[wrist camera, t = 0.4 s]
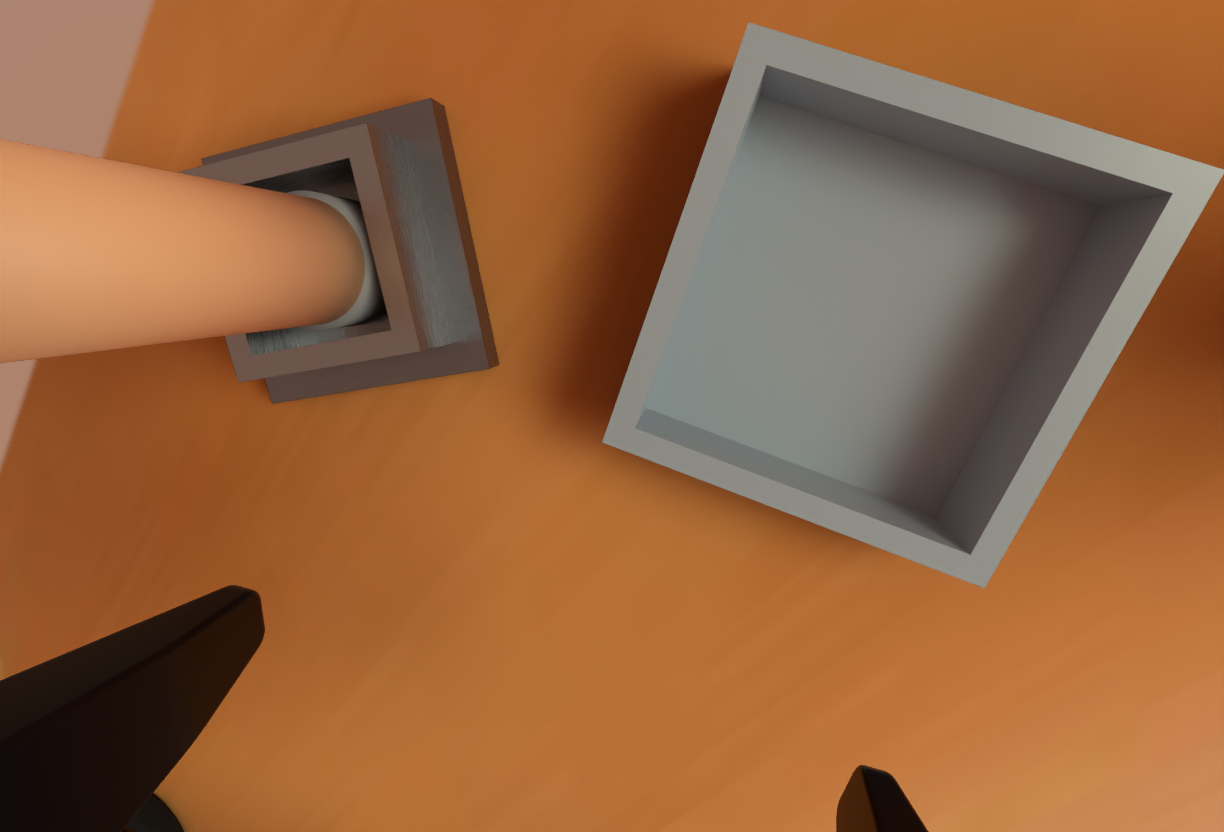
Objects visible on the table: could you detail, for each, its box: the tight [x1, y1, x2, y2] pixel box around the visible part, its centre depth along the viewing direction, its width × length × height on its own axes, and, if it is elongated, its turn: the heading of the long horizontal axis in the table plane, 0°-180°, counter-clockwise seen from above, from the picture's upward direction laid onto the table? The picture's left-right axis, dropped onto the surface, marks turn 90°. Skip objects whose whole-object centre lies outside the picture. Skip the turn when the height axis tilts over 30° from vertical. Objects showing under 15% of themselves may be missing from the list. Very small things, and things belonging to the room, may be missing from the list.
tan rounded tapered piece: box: [0, 139, 387, 363], centre depth 15 cm, size 4×4×14 cm
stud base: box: [178, 98, 499, 404], centre depth 21 cm, size 9×9×4 cm
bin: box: [602, 23, 1224, 588], centre depth 18 cm, size 12×12×4 cm
